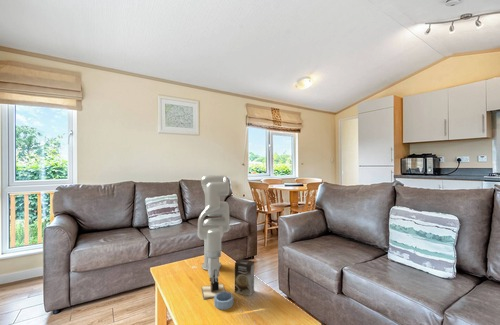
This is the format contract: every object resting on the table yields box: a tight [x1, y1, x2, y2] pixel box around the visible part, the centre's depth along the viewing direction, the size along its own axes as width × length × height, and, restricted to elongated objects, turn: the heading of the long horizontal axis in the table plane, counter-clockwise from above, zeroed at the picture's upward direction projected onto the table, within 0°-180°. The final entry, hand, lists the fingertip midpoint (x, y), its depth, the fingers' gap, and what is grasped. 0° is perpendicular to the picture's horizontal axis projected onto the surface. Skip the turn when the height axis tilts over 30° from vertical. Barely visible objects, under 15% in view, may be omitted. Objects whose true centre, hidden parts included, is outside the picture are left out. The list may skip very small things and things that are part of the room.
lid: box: [201, 278, 226, 300], centre depth 124 cm, size 11×11×7 cm
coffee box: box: [234, 258, 255, 296], centre depth 125 cm, size 9×6×16 cm
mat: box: [201, 284, 227, 301], centre depth 124 cm, size 12×12×1 cm
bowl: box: [213, 290, 234, 311], centre depth 114 cm, size 9×9×4 cm
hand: (213, 285), depth 124 cm, fingers open, 9 cm apart
